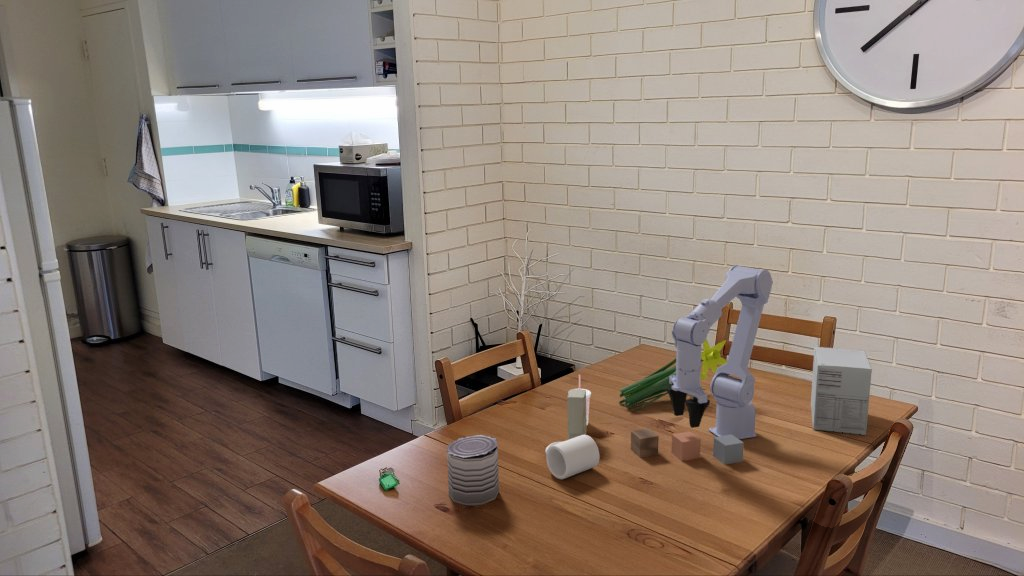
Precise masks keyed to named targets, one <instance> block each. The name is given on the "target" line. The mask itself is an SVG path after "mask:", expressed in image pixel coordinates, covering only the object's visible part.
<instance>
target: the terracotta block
mask: <svg viewBox="0 0 1024 576" xmlns="http://www.w3.org/2000/svg"><path fill="white" fill-rule="evenodd" d="M671 454H672V455H674V456H675V457H676V458H677V459H678V460H679V461H681V462H684V461H691V460H696V459H701V438H699V437H698V436H697V435H696V434H695V433H693V432H691V431H683V432H678V433H672V434H671Z"/></svg>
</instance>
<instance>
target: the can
mask: <svg viewBox="0 0 1024 576" xmlns="http://www.w3.org/2000/svg"><path fill="white" fill-rule="evenodd" d="M498 451H499V444H498V441H497V438H496V437H494V436H493V437H492V436H487V435H483V434H476V435H472V436H471V435H470V436H465V437H464V436H463V437H459V438H458V439H456V440H454V441H452V442H451V443H449V444H447V445H446V460H447V461H446V462H447V482H448V483H447V484H448V485H447V487H448V496H449V497H450V498H451V501H453V502H455V503H458V504H461V505H464V506H483V505H485V504H487V503H489V502H492V501H494V500H496V498H497V496H498V494H499V492H500V484H499V483H500V481H499V479H500V478H499V452H498Z"/></svg>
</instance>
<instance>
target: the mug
mask: <svg viewBox="0 0 1024 576" xmlns="http://www.w3.org/2000/svg"><path fill="white" fill-rule="evenodd" d="M544 452H545V460H546V465H547V467H548V469H549V472H550V473H551V474H552V475H553V476H554V477H555V478H556V479H558V480H564V479H567V478H569V477H572V476H575V475H577V474H580V473H583V472H586V471H588V470H590V469H592V468H595V467H596V466H598V464H599V462H600V451H599V447H598V445H597V443H596V441H595V440H594V438H592V437H591V436H590V435H588V434H586V435H581V436H578V437H575V438H572V439H569V440H568V439H566V440H564V441H555V442H552V443H550V444H549V445H547V446H546V448H545V451H544Z"/></svg>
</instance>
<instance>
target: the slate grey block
mask: <svg viewBox="0 0 1024 576" xmlns="http://www.w3.org/2000/svg"><path fill="white" fill-rule="evenodd" d="M744 444H745V443H744V442H743V441H742V439H738V438H736V437H735V436H733V435H732V434H731V435H725V436H719V437H718V436H714V437H713V446H712V447H713V448H712V453H713V454H712V457H714V458H715V459H716V460H718V461H719V462H721V464H723V465H730V464H731V465H732V464H736V463H741V462H742V463H743V460H744Z"/></svg>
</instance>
